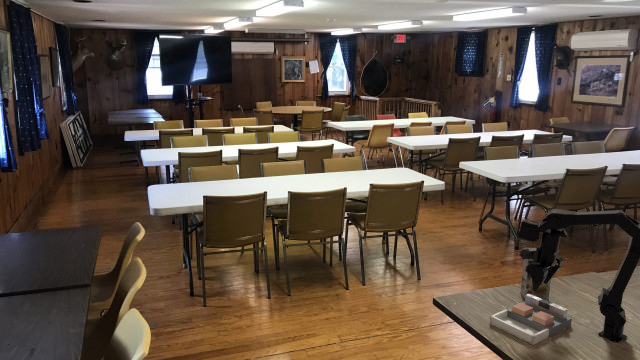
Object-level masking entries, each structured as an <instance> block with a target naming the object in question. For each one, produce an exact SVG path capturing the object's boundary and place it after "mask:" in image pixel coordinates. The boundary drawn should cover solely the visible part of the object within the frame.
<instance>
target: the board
mask: <svg viewBox="0 0 640 360" xmlns="http://www.w3.org/2000/svg"><path fill="white" fill-rule="evenodd" d="M522 303H523V304H525V301H523V302H522ZM528 306H529V305H528ZM530 307H531V306H530ZM505 310H508V311H507V317H509V318H511V319H513V320H515V321H518V322H520V323H522V324H524V325H526V326H528V327H531V328H533V329H535V330H537V331H539V332H540V331H542V330H544V329H546V328H548V329H549V337H548V338H550V337H552V336H555V335H556V334H559V333H560V332H562V331H565V330H567V329H568V328H570V327H572V319H573V318H572V317H569V316H567V319H564V320H562V319H560V318H557V317H555V316H554V322H553V323H551V324H549V325H546V326H544V325H541V324H539V323H537V322H535V321H533V320H532V315H533V314H535V313H538V312H540V311H541V310H538V309H536V308H534V307H533V313H532V314H529V315H527V316H525V317H524V316H521V315H519V314H517V313H515V312H512V306H510V307H509V308H506V309H505ZM542 312H543V311H542ZM544 313H545V312H544ZM547 314H548V313H547ZM549 315H550V314H549ZM552 316H553V315H552Z"/></svg>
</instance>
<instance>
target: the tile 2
mask: <svg viewBox="0 0 640 360" xmlns="http://www.w3.org/2000/svg"><path fill="white" fill-rule="evenodd" d="M532 320H533V321H535V322H537V323H539V324H541V325H544V326H546V325H549V324H551V323H553V322H554V316H552V315H549V314H547V313H544V312H542V311H540V312H538V313H535V314H533V315H532Z"/></svg>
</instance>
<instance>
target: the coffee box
mask: <svg viewBox="0 0 640 360" xmlns="http://www.w3.org/2000/svg"><path fill="white" fill-rule="evenodd" d="M533 260H534V259H525V260H523V263H522V264H523V265H522V272H521V273H522V276H521V284H520V293H521V296H522V297H523V298H524V299H525V296H526V295H527V294H531V295H534V296H536V297H538V298H541V299H544V300H547V301H549V300H550V292H551V282H552V278H551V279H550V281H549V282H548V283H547V284H544V281H543V283H542V284H541V286H540V287H539V289H538V290H537V291H534V290H533V285H532V278H531V276H530V274H528V273H527V272H526V271H525V269H526V266H527V265H529V264H531V263H533V262H534V263H537V264H539V263H538V262H535V261H533Z"/></svg>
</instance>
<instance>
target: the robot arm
mask: <svg viewBox="0 0 640 360" xmlns="http://www.w3.org/2000/svg"><path fill="white" fill-rule="evenodd" d="M588 225H589V226H590V225H591V226H593V225H594V226H595V225H596V226H597V225H598V226H599V225H617V226H618V227H619V228H621V229H622V231H624V232H625V233H626V234H627V235H629V238H628V245H627V250H626V252H625V254H624V256H623V258H622V261H621V263H620V265H619V267H618V269H617V272H616V273H615V276H614V278H613V280H612V282H611V285H610V286H608V287H607V288H605V287H602V289H601V293H600V294H599V295H598V296H597V303H598V304H597V305H598V306H599V312H600V313H601V314H602V316H604V321H603V330H601V331H599V332H598V333H597V335H599V336H600V337H603V338H605V339H607V340H610V341H612V342H614V343H620V342H622V341H624V340H625V339H628V335H627V334H624V328H625V324H626V323H627V317H626V311H625V308H623V307H622V303H623V296H624V293H625V290H626V289H627V287H628V285H629V282H630V281H631V279H632V276H633V275H634V272H635V269H636V268H637V265H638V264H639V261H640V222H639V221H638V220H636V219H634V218H633V217H631V216H630V215H628V214H627V213H626V212H624V211H623V210H621V209H616V210H615V209H614V210H602V211H601V210H600V211H577V212H576V211H571V210H567V209H562V208H561V209H559V208H553V209H550V210H549V211H548V212H547V213H546V217H545V216H544V218H543V219H541V220H540V221H539V222H538V223H537V222H533V221H532V222H531V221H529V220H526V219H522V221H521V224H520V228H519V230H518V234H517V239H518V240H521V241H526V242H530V243H534V244H535V243H536V242H537V241H539V240H540V236H541V240H540V244H539V246H537V247H525V248H524V247H523V248H522V249H521V250H520V251H519V254H518V255H519V256H520V258H521V260H523V261H524V260H525V259H534V260H533V261H535V262H538V263H539V264H537V263H534V262H533V263H531V264H529V265H527V266H526V269H525V271H526V272H527V273H528V274H530V276H531V278H532V285H533V290H534V291H537V290H538V289H539V287H540V286H541V284H542V283H543V281H544V284H547V283H548V282H549V281H550V279H551V280H552V278H553V277H554V276H555V275H556V274H557V272H558V271H559V270H560V269H561V267H562V266H563V265H564V258H563V257H562V256H560V255H558V254H559V253H560V251H561V249H559V246H560V242H561V238H565V239H566V238H568V232H567V231H566V230H565V229H567V228H571V227H573V226H588ZM541 233H542V235H541Z"/></svg>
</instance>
